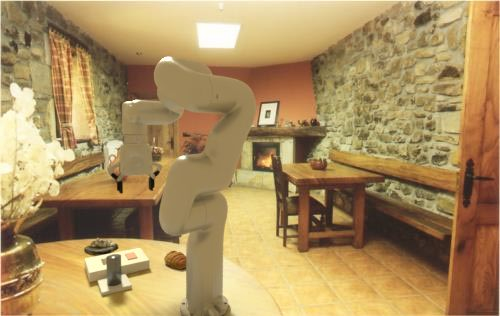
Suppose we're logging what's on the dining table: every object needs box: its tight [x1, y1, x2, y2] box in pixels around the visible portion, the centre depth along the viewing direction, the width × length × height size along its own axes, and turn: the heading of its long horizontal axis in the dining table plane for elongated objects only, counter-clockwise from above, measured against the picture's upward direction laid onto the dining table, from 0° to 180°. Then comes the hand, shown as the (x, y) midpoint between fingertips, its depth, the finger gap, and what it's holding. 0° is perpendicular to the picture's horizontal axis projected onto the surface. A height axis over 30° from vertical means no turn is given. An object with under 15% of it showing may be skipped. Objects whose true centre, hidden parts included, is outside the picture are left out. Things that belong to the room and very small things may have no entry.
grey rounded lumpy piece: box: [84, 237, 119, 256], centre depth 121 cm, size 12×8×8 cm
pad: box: [97, 274, 133, 297], centre depth 94 cm, size 8×8×1 cm
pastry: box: [164, 250, 186, 270], centre depth 109 cm, size 9×7×4 cm
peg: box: [106, 254, 122, 286], centre depth 94 cm, size 4×4×8 cm
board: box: [84, 247, 150, 283], centre depth 106 cm, size 12×18×3 cm, turn 123°
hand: (136, 191), depth 106 cm, fingers open, 9 cm apart
